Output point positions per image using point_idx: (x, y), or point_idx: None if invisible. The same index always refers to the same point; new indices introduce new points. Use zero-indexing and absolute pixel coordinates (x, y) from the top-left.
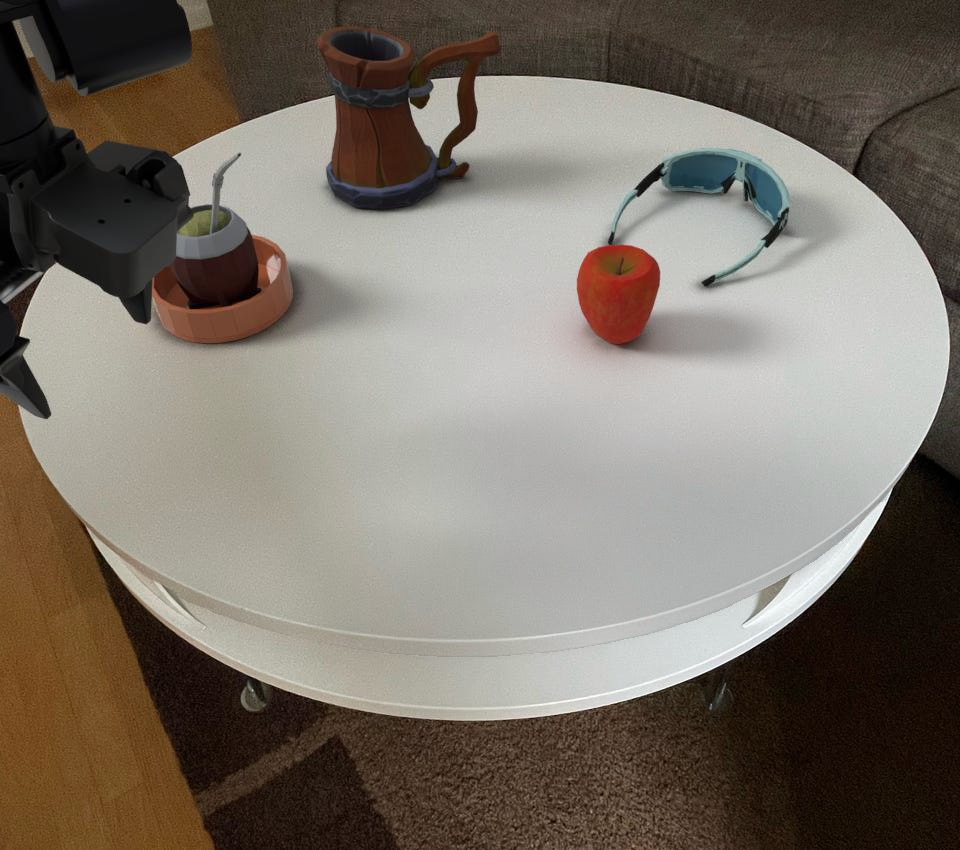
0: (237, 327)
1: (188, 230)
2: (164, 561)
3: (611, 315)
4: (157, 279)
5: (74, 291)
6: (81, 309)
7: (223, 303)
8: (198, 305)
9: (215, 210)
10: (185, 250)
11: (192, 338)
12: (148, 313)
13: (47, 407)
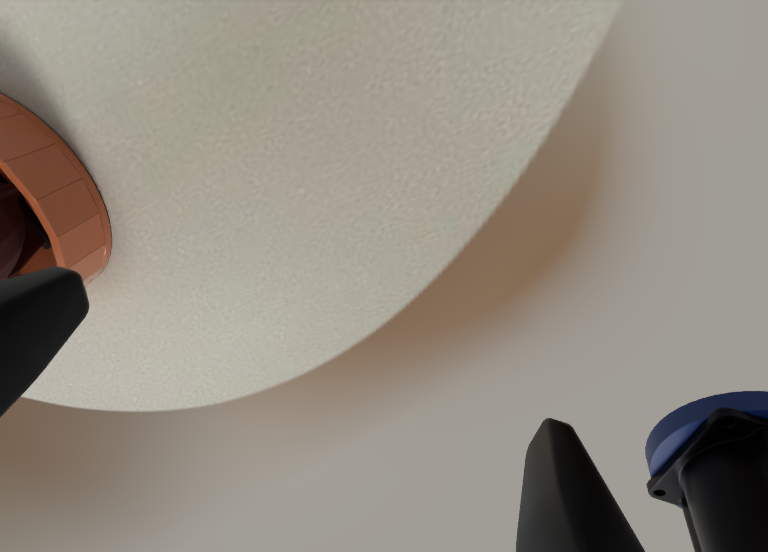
0: (40, 147)
1: None
2: (574, 62)
3: None
4: None
5: (114, 384)
6: (134, 369)
7: (7, 186)
8: (43, 231)
9: None
10: None
11: (101, 216)
12: (30, 281)
13: (564, 453)
